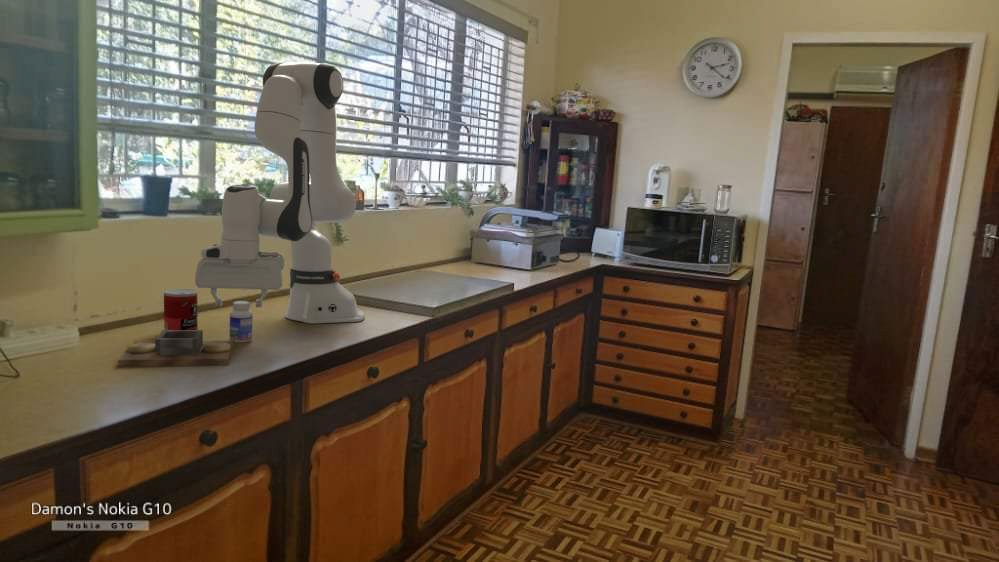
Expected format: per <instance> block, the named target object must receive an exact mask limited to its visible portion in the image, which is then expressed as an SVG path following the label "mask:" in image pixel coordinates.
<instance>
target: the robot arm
mask: <svg viewBox="0 0 999 562" xmlns="http://www.w3.org/2000/svg"><path fill="white" fill-rule="evenodd" d="M341 73H342V72H340V70H339V69H338V67H336V66H335V65H333V64H330V63H326V62H322V63H318V62H312V61H299V62H286V63H284V62H277V63H274V64H271V65H269V66H268V67H267V68H266V70H265V71H264V73H263V75H262V87H263V88H262V90H261V93H260V95H259V100H258V104H257V108H256V114H255V119H254V135H255V138H256V140H257V141H258V143H259V144H260V145H261V146H262V147H263V148H264V149H266V150H267V151H269V152H270V153H273V154H274V155H276V156H278V157H280V158H281V159H283V160H284V162H285V163H286V165H287V181H284V182H283V181H282V182H279V183H276V184H275V185H274V186H273V188H272V189H271V190H270V193H269V197H268V198H267V197H265V196H264V195H262V194H260V192H259V188H258V186H256V185H254V184H249V183H248V184H245V183H243V184H242V183H241V184H233V185H229V186H228V187H226V188H225V191H224V193H223V197H222V204H221V205H222V206H221V223H222V234H221V235H220V236H221V239H220V243H218V244H217V243H215V244H213V245H210V246H209V245H208V246H205V247H204V248H202V249H201V250H200V256H201V259H200V260H199V261H198V262H197V265H196V271H195V275H194V276H195V277H194V284H195V286H196V287H197V288H199V289H200V288H201V289H202V288H203V289H210V294H211V295H212V297H213V299H214V301H215V302H214V304H215V307H222V306H223V298H222V297H219V295H218V294H217V292H218V290H219V289H230V290H231V289H234V290H235V289H236V290H241V289H242V290H260V294H261V297H260V298H256V300H255V307H256V308H263V301H264V299H265V297H266V296H267V295H268V291H273V290H274V291H278V290H280V289H281V288H282V287H283V272H282V271H283V269H284V268H285V257H284V256H283V255H281V254H280V253H278V252H267V251H260V237H265V238H275V239H282V240H286V241H290V248H291V268H290V269H289V270H290V271H289V280H288V281H289V288H290V291H289V300H288V304H287V308H286V310H285V311H286V312H285V315H284V316H285V318H286V319H288V320H292V321H298V322H303V323H306V324H329V323H332V324H333V323H352V322H353V323H355V322H361V321H363V320H364V319H365V314H364V312H363V311H362V310H360V309H359V308H358V306H357V305H358V304H357V301H356V298H355V296H354V293H352V292H350V291H349V290H348V289H347V288H345V286H343V285H342V284H341V283H339V282H338V281H339V279H340V278H341V275H340V273H339V272H337V271H336V270H334V269H333V268H332V267H331V266H332V243H331V242H330V241H331V240H329V238H327V237H326V236H325V235H323V234H322V233H321V232H320V231H319V229H318V228H317V225H316V222H317V223H318V222H319V223H326V224H327V223H330V224H331V223H332V224H335V223H336V224H337V223H342V222H343V223H344V222H348V221H349V220H350V219H351V218H352V217H353V216H354V214H355V211H356V209H357V199H356V197H355V194H354V192H353V191H352V189H350V188H349V187H348V186H347V185H346V184H345V182H344V181H343V178H341V175H340V172H339V170H338V165H337V137H338V135H337V134H338V132H337V131H338V121H337V110H336V104H337V102H339V100H340V98H341V96H342V94H343V91H344V80H343V75H342V74H341Z"/></svg>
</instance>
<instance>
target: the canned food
mask: <svg viewBox="0 0 999 562" xmlns="http://www.w3.org/2000/svg"><path fill="white" fill-rule="evenodd" d="M163 321H164V323H163V324H164V325H163V327H164V329H163V330H199V329H198V328H199V327H198V322H199V321H198V291H197V290H196V289H192V288H170V289H166V290H164V291H163Z"/></svg>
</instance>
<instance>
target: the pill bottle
mask: <svg viewBox="0 0 999 562" xmlns="http://www.w3.org/2000/svg"><path fill="white" fill-rule="evenodd" d="M232 308H233V310H231V311H230V312H229V341H235V343H240V344H241V343H243V344H244V343H248V342H251V341H253V320H254V319H253V311H252V310H250V308H251V303H250V301H246V300H238V301H237V300H236V301H233V303H232Z"/></svg>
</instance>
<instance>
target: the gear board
mask: <svg viewBox="0 0 999 562" xmlns="http://www.w3.org/2000/svg"><path fill="white" fill-rule="evenodd" d="M203 333H204V332H203V329H198V330H164V329H163V330H161V332H160V333H159V334H158V335H157V336H156V338H155V340H134V341H133V342H132V344H130V345H128V346H127V347H126V350H125V352H124V353H122V355H121V356H120V357H118V360H117V367H119V368H121V367H122V368H126V367H127V368H128V367H130V368H131V367H133V368H134V367H192V366H193V367H194V366H195V367H197V366H200V367H203V366H206V367H207V366H208V367H209V366H228V365H229V362H230V360H231V358H232V354H233V352H234V349H235V346H236V344H235V343H236V342H235V341H230V340H204V334H203Z"/></svg>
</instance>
